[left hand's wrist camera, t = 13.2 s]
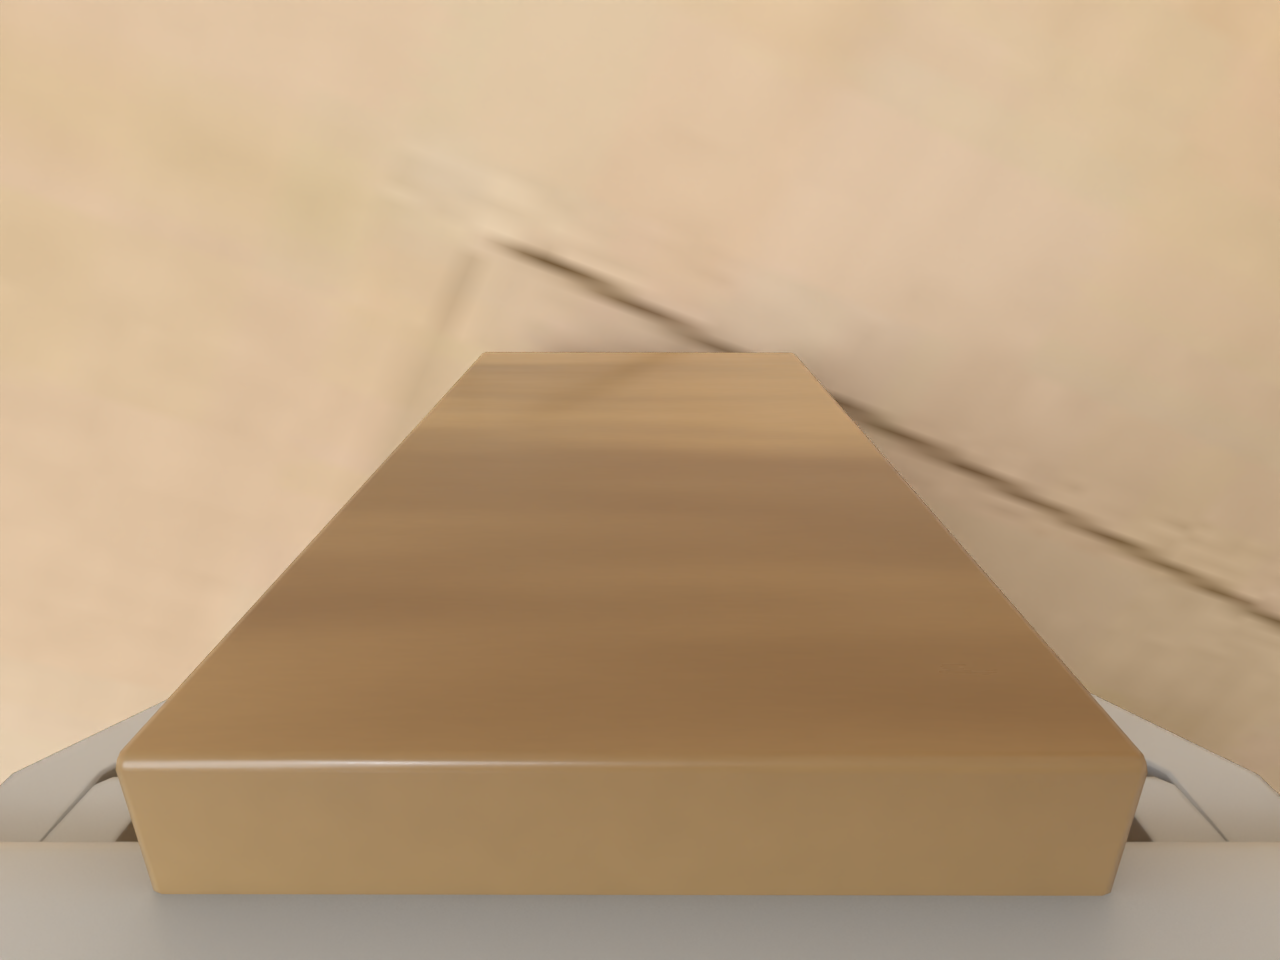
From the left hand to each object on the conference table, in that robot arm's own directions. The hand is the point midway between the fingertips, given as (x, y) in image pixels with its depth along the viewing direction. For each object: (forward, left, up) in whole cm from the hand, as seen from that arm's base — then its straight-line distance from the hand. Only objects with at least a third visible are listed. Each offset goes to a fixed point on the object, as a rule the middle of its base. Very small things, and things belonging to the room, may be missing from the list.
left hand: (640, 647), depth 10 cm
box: (+10, 0, -6) cm, 11 cm away
